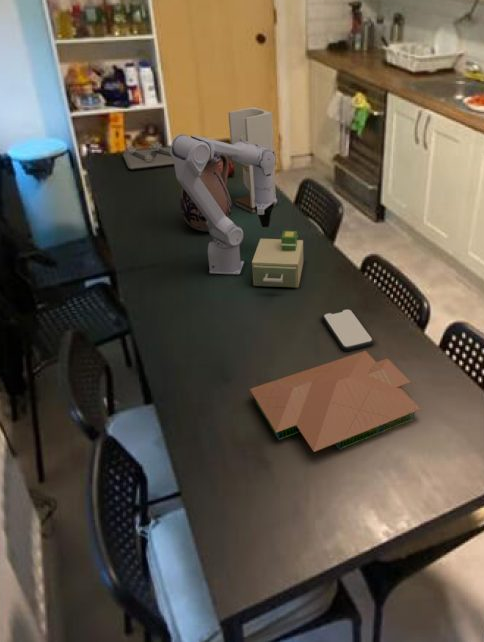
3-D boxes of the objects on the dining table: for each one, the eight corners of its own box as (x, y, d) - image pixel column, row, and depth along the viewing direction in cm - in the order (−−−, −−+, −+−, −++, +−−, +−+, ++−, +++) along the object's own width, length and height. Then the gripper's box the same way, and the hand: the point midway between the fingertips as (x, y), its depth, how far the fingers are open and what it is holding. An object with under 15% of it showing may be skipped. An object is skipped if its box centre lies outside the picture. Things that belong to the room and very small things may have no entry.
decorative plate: (129, 172, 245) (126, 156, 241) (122, 156, 261) (119, 141, 257) (198, 163, 256) (196, 148, 252) (187, 149, 272) (185, 134, 268)
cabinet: (298, 287, 168) (298, 264, 164) (253, 285, 168) (251, 262, 164) (303, 262, 181) (303, 240, 176) (261, 260, 181) (260, 238, 177)
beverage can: (236, 177, 242) (235, 162, 238) (209, 181, 237) (207, 166, 234) (231, 172, 247) (230, 157, 244) (204, 176, 243) (203, 161, 239)
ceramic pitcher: (173, 231, 197) (162, 162, 184) (206, 209, 214) (199, 144, 200) (216, 241, 192) (208, 170, 178) (247, 217, 208) (242, 151, 195)
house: (429, 415, 124) (433, 388, 120) (293, 471, 110) (292, 442, 106) (374, 357, 141) (376, 331, 136) (250, 399, 127) (248, 372, 123)
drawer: (294, 294, 163) (293, 275, 160) (252, 292, 163) (250, 274, 160) (300, 263, 179) (300, 245, 175) (262, 261, 179) (261, 244, 175)
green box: (295, 252, 170) (295, 239, 167) (281, 251, 170) (280, 238, 167) (297, 241, 175) (297, 229, 173) (283, 241, 176) (283, 228, 173)
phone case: (375, 345, 145) (350, 312, 157) (375, 341, 144) (350, 307, 156) (343, 353, 142) (320, 318, 154) (343, 348, 141) (320, 314, 154)
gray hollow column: (259, 197, 225) (254, 107, 206) (276, 205, 219) (272, 113, 199) (235, 204, 218) (228, 112, 199) (252, 213, 212) (246, 118, 193)
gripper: (272, 195, 167) (274, 236, 175) (279, 178, 179) (281, 217, 187) (249, 194, 167) (252, 235, 175) (257, 177, 180) (259, 216, 187)
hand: (265, 226), depth 181 cm, fingers closed
